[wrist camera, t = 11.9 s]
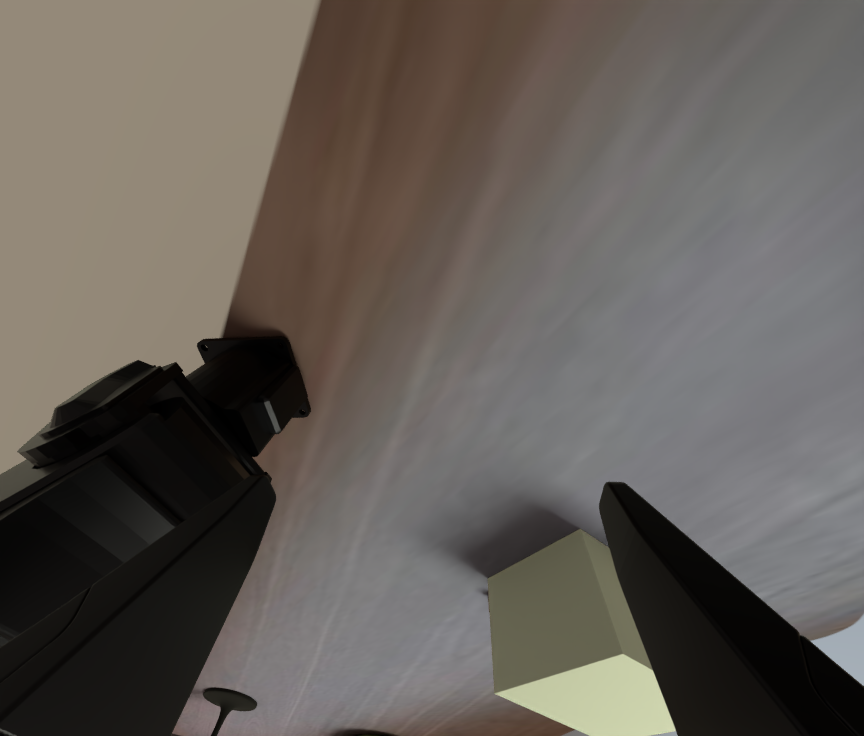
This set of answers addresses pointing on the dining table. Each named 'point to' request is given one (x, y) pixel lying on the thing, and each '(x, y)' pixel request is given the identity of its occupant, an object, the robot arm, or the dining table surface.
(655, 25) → the dining table surface
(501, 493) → the dining table surface
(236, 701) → the wine glass
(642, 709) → the sage box
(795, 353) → the dining table surface
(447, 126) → the dining table surface
